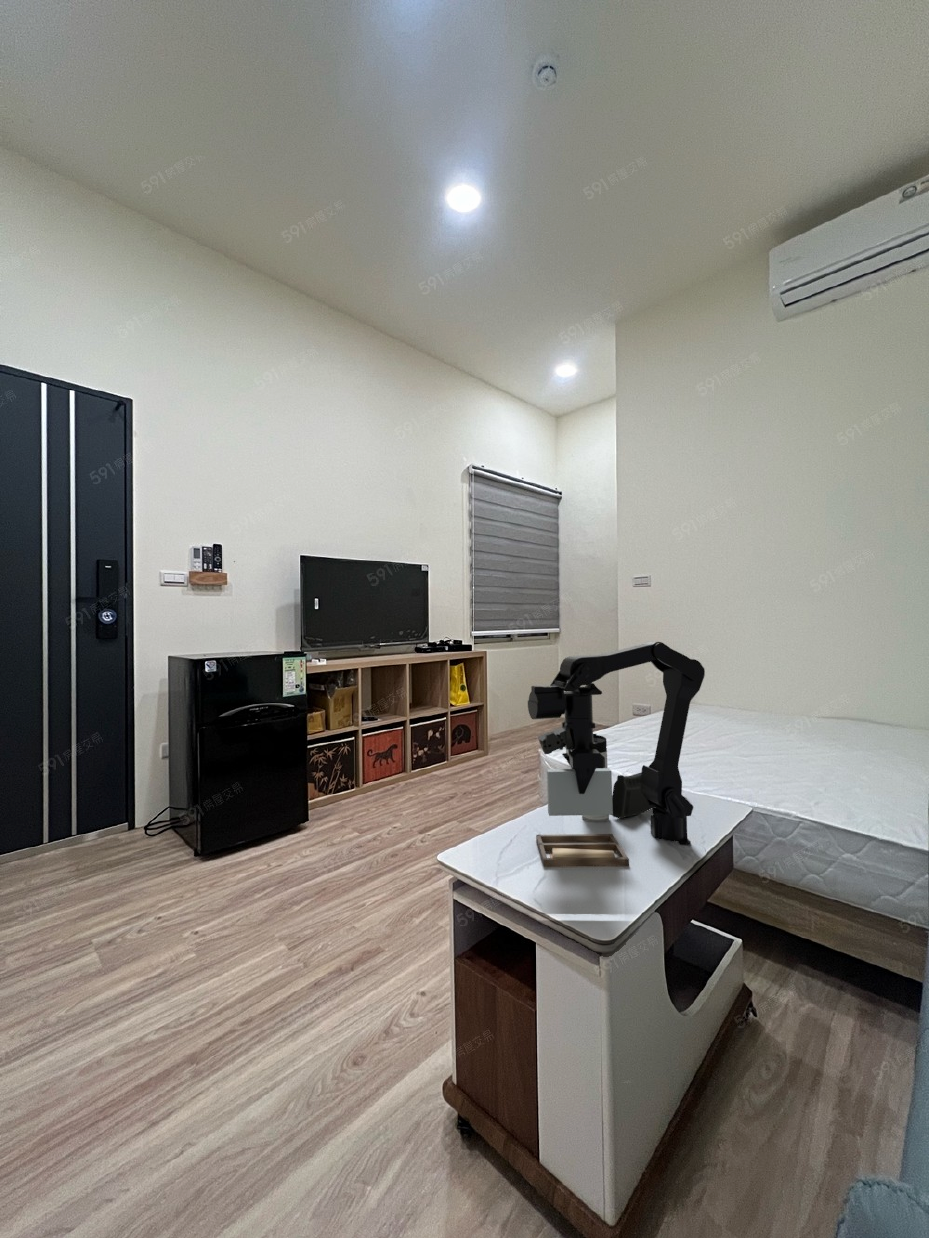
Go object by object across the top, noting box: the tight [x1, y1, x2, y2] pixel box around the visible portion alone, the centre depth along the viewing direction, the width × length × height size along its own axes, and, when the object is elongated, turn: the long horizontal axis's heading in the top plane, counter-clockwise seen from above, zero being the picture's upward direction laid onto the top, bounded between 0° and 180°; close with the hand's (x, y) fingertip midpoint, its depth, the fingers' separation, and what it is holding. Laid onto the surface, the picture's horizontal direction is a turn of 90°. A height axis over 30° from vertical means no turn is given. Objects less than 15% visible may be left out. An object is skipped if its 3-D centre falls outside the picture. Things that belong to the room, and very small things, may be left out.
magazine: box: [611, 771, 655, 819], centre depth 131 cm, size 17×3×30 cm
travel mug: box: [581, 733, 610, 823], centre depth 123 cm, size 6×7×20 cm
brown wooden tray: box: [535, 833, 630, 868], centre depth 103 cm, size 16×12×2 cm
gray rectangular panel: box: [546, 767, 613, 817], centre depth 106 cm, size 13×2×9 cm, turn 89°
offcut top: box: [551, 848, 616, 858], centre depth 101 cm, size 12×4×1 cm, turn 81°
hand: (580, 791), depth 106 cm, fingers closed on gray rectangular panel, 2 cm apart
